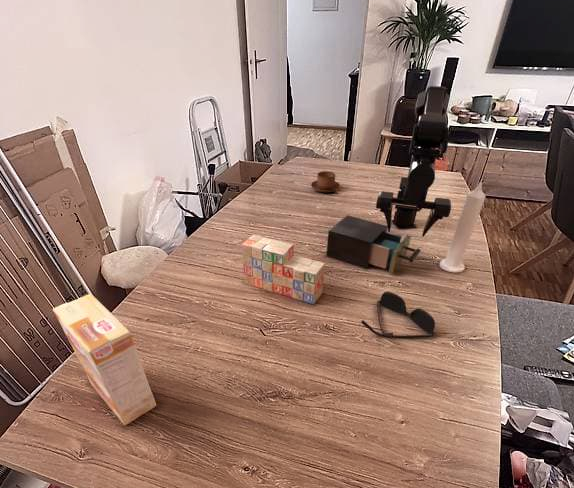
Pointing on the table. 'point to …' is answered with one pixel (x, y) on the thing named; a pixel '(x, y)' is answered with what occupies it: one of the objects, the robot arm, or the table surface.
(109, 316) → the coffeecake box
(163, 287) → the table surface
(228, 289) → the table surface
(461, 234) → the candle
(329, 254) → the cabinet
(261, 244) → the stack of blocks
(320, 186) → the cup and saucer
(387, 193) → the robot arm
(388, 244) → the block
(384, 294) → the sunglasses
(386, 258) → the drawer
